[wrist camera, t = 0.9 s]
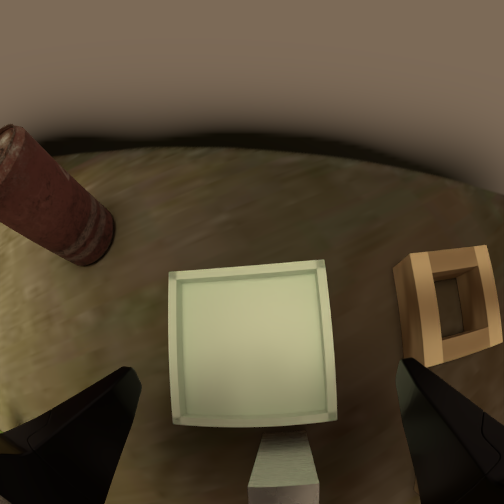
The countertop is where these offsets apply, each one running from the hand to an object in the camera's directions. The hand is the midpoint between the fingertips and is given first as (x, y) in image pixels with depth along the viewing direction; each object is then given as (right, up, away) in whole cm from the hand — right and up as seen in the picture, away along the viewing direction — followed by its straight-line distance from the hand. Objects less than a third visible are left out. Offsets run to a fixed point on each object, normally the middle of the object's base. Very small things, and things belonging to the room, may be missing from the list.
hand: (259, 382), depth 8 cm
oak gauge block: (+15, 0, +10) cm, 18 cm away
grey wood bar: (+2, -10, +8) cm, 13 cm away
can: (-16, +5, +16) cm, 23 cm away
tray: (0, -3, +11) cm, 12 cm away
